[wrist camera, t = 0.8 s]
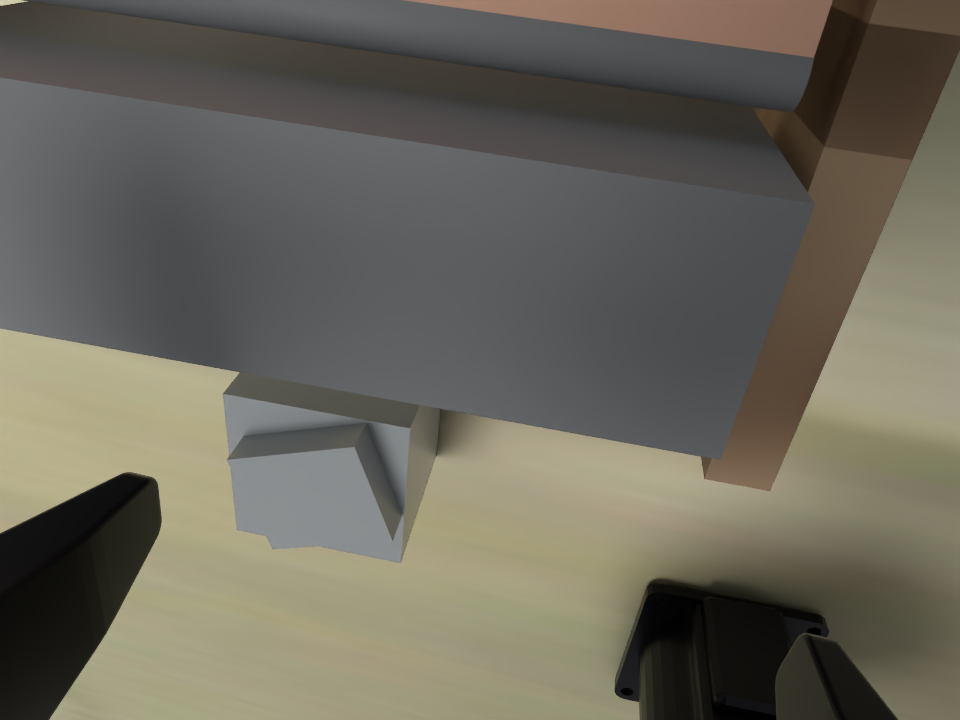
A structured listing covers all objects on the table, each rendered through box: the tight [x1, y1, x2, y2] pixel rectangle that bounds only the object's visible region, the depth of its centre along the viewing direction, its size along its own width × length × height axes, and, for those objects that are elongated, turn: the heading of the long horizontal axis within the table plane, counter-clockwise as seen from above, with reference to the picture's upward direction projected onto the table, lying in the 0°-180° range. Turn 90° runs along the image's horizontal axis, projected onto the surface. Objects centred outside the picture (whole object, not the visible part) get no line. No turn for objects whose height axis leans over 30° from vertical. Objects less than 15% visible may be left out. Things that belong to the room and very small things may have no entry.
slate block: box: [223, 372, 441, 563], centre depth 22 cm, size 5×5×6 cm
